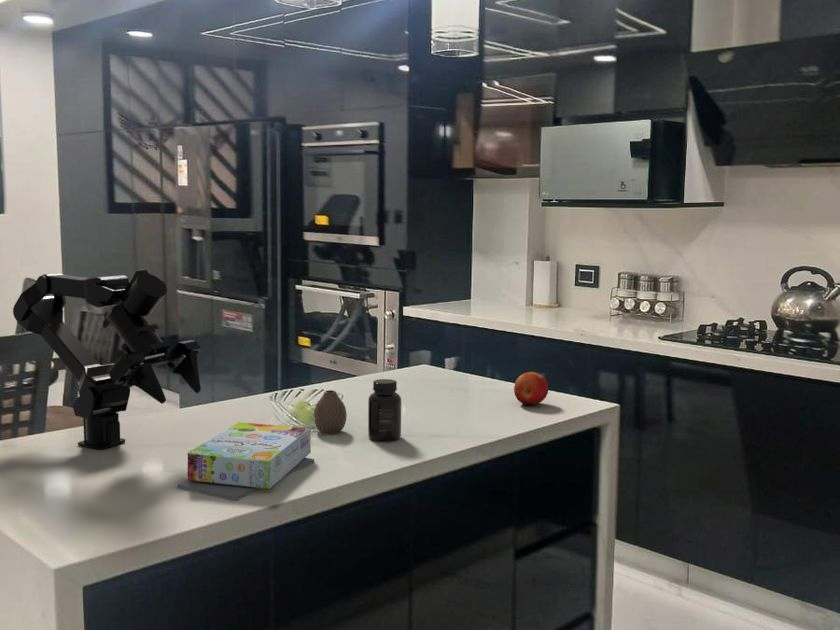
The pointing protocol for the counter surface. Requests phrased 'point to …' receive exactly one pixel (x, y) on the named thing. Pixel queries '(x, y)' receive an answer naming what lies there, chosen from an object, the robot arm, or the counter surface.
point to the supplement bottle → (384, 411)
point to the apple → (530, 388)
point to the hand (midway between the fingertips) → (182, 396)
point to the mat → (231, 490)
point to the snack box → (249, 455)
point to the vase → (330, 413)
